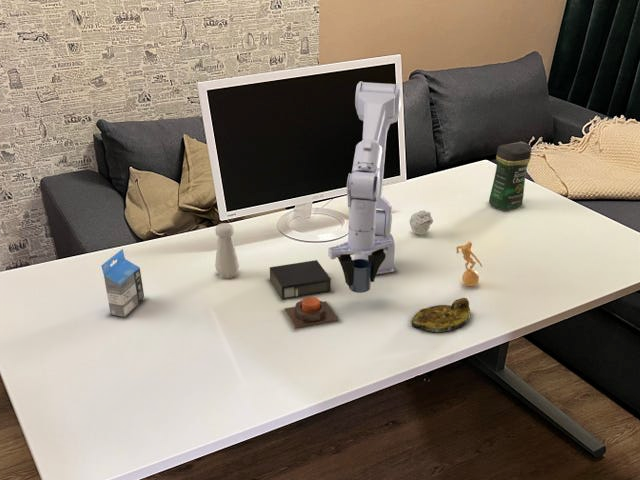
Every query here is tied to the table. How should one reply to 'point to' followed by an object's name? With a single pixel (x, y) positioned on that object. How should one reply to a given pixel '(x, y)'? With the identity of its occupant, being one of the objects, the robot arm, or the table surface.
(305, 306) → the button
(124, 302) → the blue and grey carton
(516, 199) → the coffee jar
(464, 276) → the figurine
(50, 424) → the table surface
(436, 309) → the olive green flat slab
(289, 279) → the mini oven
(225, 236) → the salt shaker
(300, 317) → the control pad
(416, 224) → the crumpled paper ball
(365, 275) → the cup
